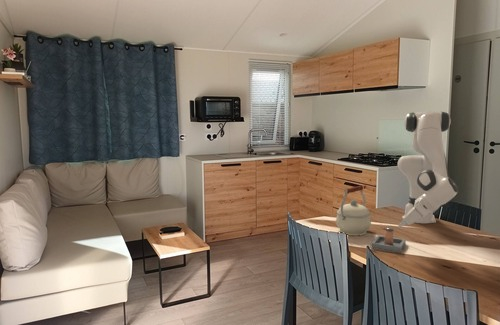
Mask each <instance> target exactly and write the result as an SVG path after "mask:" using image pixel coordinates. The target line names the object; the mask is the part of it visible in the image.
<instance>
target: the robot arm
mask: <svg viewBox="0 0 500 325" xmlns="http://www.w3.org/2000/svg"><path fill="white" fill-rule="evenodd" d="M451 121H452V120H451V117H450V115H449V113H448V112H445V111H432V110H431V111H417V112H414V111H413V112H408V113H407V114H406V115H405V118H404V122H403V126H404V129H405V130H406V131H407V132H410V133H413V136H412V148H413V150H414V151H415V152H417V153H418V155H413V154H412V155H411V154H409V155H403V156H401V157H400V158H398V161H397V168H398V170H399V171H400V172H401V173H402V174H403V175H404V176H405V177H406V178H407V181H408V184H409V195H408V198H407V199H408V203H407V204H405V210H404V215H402V216H401V221H400V222H399V223H398V225H397V226H398V227H399V228H402V227H403V226H406V225H408V226H410V225H413V224H414V223H415V224H432V223H433V224H434V223H437V219H436V218H435V215H434V213H435V212H436V211H437V210H438V209H439V208H440V207H441V206H443V205H446V203H448V202H450V201H451V200H452V199H454V198H455V196H456V195H457V194H458V192H459V187H458V184H457V183H456V182H455V181H454V179H452V178H451V177H450V175H449V170H448V163H447V157H446V153H445V149H444V145H443V139H442V138H443V137H442V135H443V134H442V132H446V131H447V130H449V128H450V125H451ZM419 154H420V155H419Z"/></svg>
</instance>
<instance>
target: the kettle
mask: <svg viewBox="0 0 500 325" xmlns="http://www.w3.org/2000/svg"><path fill="white" fill-rule="evenodd" d="M363 190H364V185H358V186H352V187H350V188H349V187H348V188H345V189H344V197H343V200H342V202H341V204H340V207H339V208H338V209H337V210H336V214H337V215H336V219H335V224H336V226H337V227H338V229H339V232H340V233H341V232H344V233H347V234H348V235H347V236H352V235H354V236H356V237H358V235H360V236H364V235H366V234H367V231H369V229H370V228H371V225H372V220H371V217H370V216H371V212H370V211H369V207H366V205H367V204H366V203H367V200H366V196H365V195H364V192H363ZM359 191H360V192H359ZM355 192H359V193H360V195H361V197H362V198H363V203H362V204H359V203H358V201H357V200H356V199H352V200H351V201H349V202H350V203H346V204H345V202H346V201H347V198H348V195H349V194H352V193H355Z"/></svg>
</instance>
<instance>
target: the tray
mask: <svg viewBox="0 0 500 325" xmlns="http://www.w3.org/2000/svg"><path fill="white" fill-rule="evenodd" d="M384 240H385V235H379V234H378V235H377V236H376V237H375V238H374V239H373V240H372V242H371V249H376V250H379V251H380V250H381V251H387V252H393V253H397V254H401V253H402V251H403V250H404V248H405V247H406V245H407V244H406V241H407V240H406V239H404V238H397V237H393V246H392V245H386V244H384Z"/></svg>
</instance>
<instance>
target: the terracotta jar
mask: <svg viewBox="0 0 500 325" xmlns="http://www.w3.org/2000/svg"><path fill="white" fill-rule="evenodd" d="M394 232H395V231H394V228H393V227H385V228H384V236H385V240H384V244H386V245H392V246H393V238H394Z"/></svg>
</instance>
